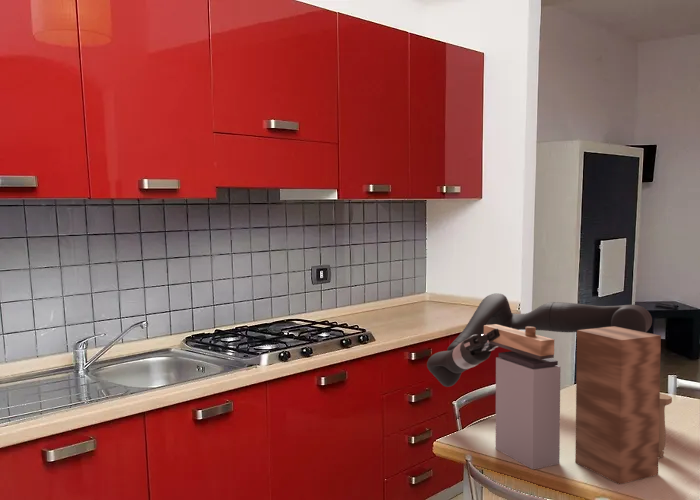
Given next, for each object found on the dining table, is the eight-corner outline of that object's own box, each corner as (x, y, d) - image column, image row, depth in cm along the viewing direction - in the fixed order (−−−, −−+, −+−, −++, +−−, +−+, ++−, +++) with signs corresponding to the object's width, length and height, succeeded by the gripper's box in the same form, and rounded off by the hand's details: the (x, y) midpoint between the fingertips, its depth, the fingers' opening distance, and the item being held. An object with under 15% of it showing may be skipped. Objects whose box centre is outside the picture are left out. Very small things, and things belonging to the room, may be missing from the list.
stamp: (496, 340, 160) (496, 316, 160) (554, 357, 140) (554, 331, 140) (483, 341, 159) (483, 317, 158) (540, 359, 139) (540, 332, 138)
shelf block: (612, 454, 148) (614, 326, 146) (658, 474, 136) (660, 335, 134) (575, 462, 143) (577, 330, 141) (619, 484, 131) (621, 340, 130)
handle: (666, 462, 143) (667, 400, 142) (638, 454, 147) (639, 394, 147) (673, 456, 146) (674, 396, 145) (645, 449, 151) (647, 391, 150)
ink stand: (520, 443, 155) (521, 349, 154) (559, 463, 142) (560, 361, 141) (495, 448, 152) (496, 352, 151) (532, 469, 139) (533, 364, 138)
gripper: (495, 362, 169) (531, 342, 155) (453, 367, 163) (486, 347, 149) (488, 337, 172) (522, 315, 158) (446, 341, 166) (478, 319, 152)
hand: (504, 331), depth 154 cm, fingers closed on stamp, 4 cm apart
